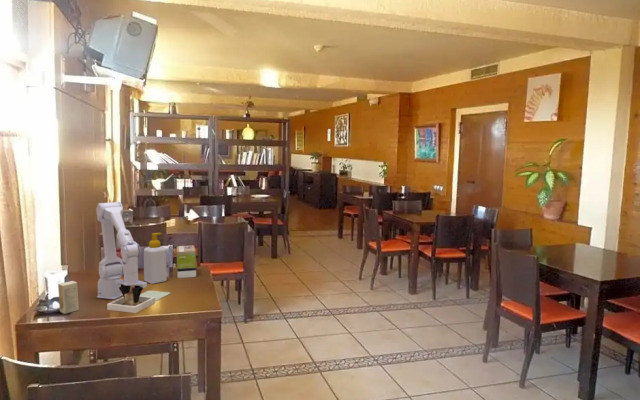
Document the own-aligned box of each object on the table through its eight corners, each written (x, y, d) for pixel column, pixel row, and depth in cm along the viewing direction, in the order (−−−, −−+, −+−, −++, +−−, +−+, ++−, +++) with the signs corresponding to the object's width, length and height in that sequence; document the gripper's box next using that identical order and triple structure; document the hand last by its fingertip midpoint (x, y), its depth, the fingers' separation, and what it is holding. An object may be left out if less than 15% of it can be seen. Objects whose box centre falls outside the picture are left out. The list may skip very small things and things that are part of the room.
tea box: (176, 271, 265) (176, 245, 263) (195, 270, 268) (194, 244, 266) (177, 278, 251) (176, 251, 249) (196, 277, 254) (196, 250, 252)
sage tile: (133, 298, 216) (132, 297, 216) (148, 291, 227) (148, 290, 227) (155, 301, 213) (155, 300, 213) (170, 293, 224) (170, 292, 224)
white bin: (107, 309, 200) (107, 304, 200) (128, 299, 214) (128, 294, 214) (135, 313, 197) (135, 307, 197) (155, 302, 210) (155, 297, 210)
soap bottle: (167, 281, 245) (166, 233, 242) (151, 284, 238) (150, 235, 235) (159, 277, 251) (158, 231, 248) (143, 281, 244) (142, 233, 241)
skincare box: (74, 308, 202) (73, 280, 201) (79, 310, 199) (78, 282, 198) (58, 311, 197) (57, 283, 196) (63, 314, 194) (62, 285, 193)
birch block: (124, 307, 204) (124, 293, 203) (130, 304, 208) (130, 290, 207) (132, 308, 203) (132, 294, 202) (138, 305, 207) (138, 291, 206)
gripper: (110, 272, 202) (111, 303, 203) (139, 275, 198) (140, 306, 200) (121, 268, 209) (122, 298, 210) (149, 271, 205) (150, 301, 206)
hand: (131, 302), depth 205 cm, fingers closed on birch block, 4 cm apart
